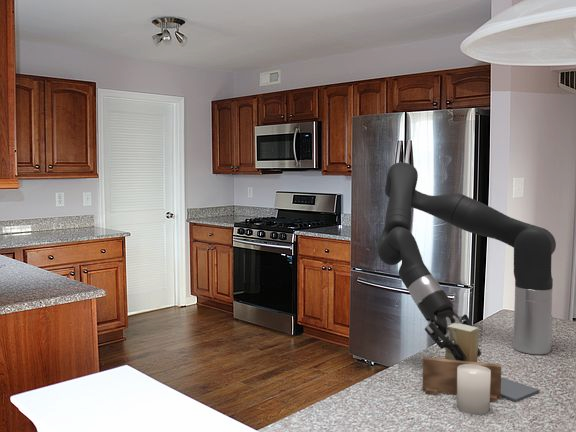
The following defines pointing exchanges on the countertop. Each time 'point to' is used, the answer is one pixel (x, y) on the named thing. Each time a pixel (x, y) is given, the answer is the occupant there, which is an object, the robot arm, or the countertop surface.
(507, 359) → the countertop surface
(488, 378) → the white pillar candle
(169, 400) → the countertop surface
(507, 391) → the slate mat
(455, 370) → the walnut screen
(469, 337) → the skincare box
